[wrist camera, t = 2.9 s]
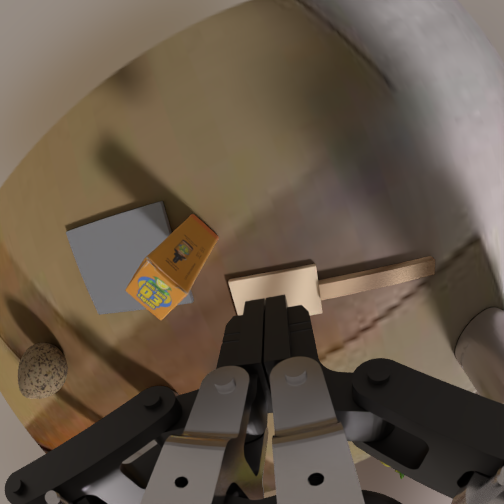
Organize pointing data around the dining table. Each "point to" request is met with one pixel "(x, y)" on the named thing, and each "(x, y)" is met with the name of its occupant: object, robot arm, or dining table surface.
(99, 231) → the mat
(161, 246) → the supplement box
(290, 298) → the turner
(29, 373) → the decorative egg
